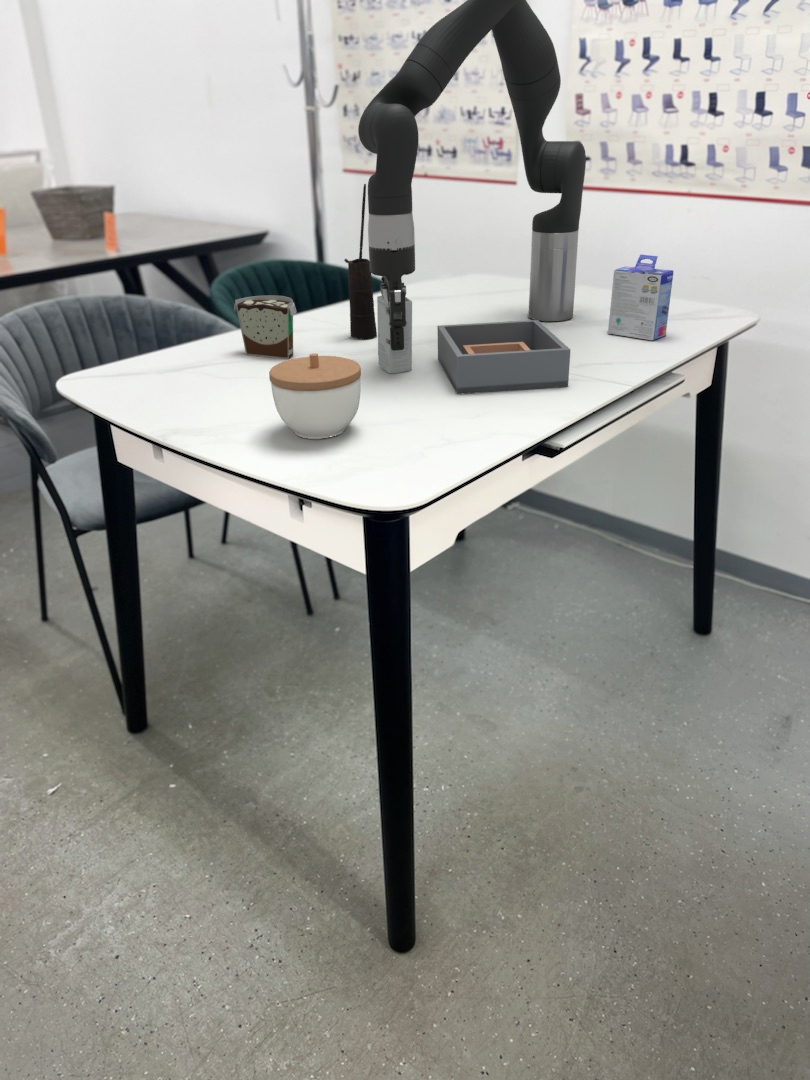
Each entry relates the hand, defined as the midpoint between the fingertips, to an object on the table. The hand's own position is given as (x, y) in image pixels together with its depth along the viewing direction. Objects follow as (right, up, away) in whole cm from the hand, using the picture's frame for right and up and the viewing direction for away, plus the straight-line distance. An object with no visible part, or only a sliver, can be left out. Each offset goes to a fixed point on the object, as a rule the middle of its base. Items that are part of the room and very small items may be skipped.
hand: (395, 343), depth 142 cm
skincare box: (0, -4, +2) cm, 4 cm away
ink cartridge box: (+46, +5, +17) cm, 50 cm away
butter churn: (-8, +6, +22) cm, 24 cm away
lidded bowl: (-10, -18, -24) cm, 32 cm away
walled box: (+18, -5, -2) cm, 19 cm away
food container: (-22, +1, +13) cm, 26 cm away
